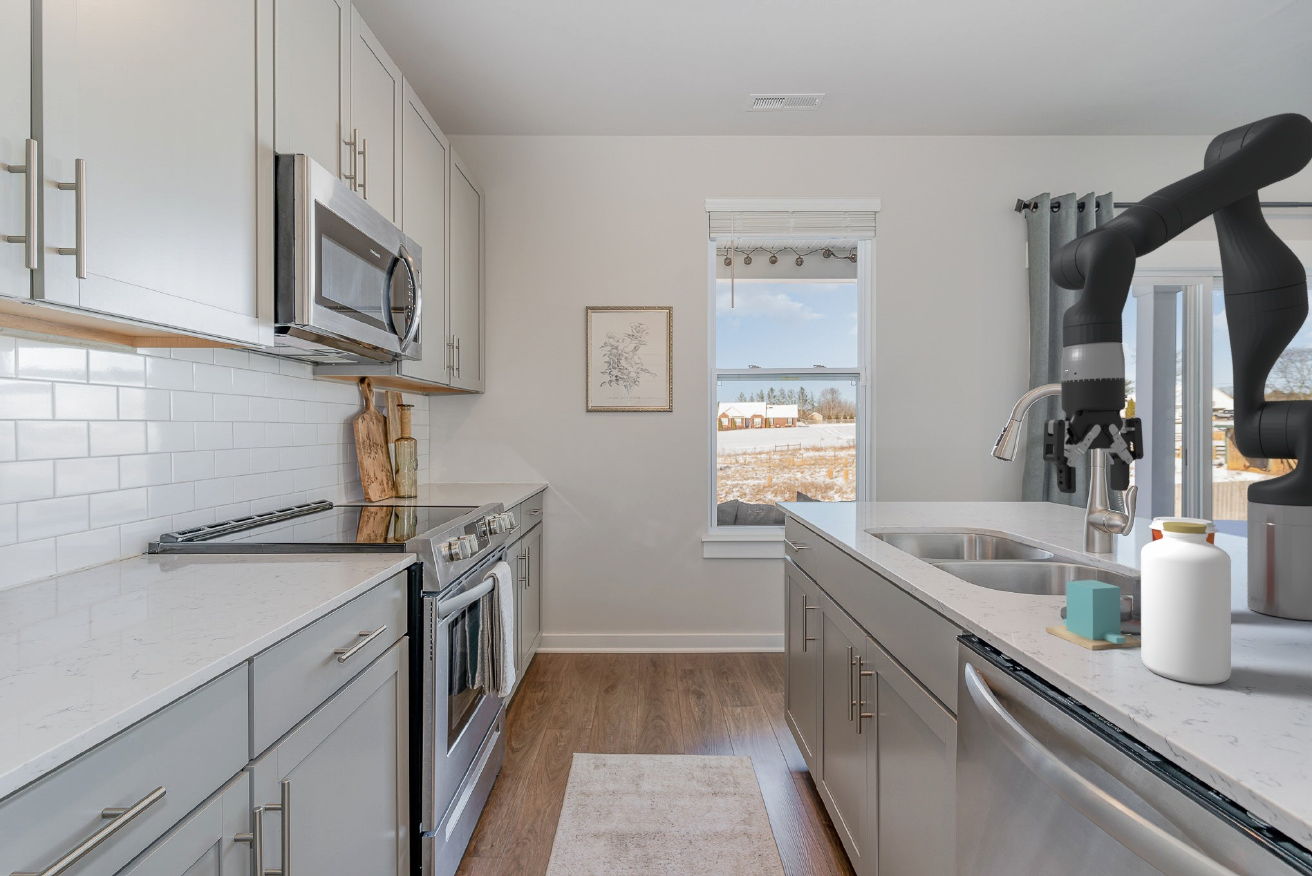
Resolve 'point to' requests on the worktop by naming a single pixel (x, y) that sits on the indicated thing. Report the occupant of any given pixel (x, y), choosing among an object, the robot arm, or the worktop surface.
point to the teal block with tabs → (1094, 610)
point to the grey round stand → (1126, 608)
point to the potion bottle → (1186, 606)
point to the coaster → (1088, 643)
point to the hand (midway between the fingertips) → (1093, 491)
